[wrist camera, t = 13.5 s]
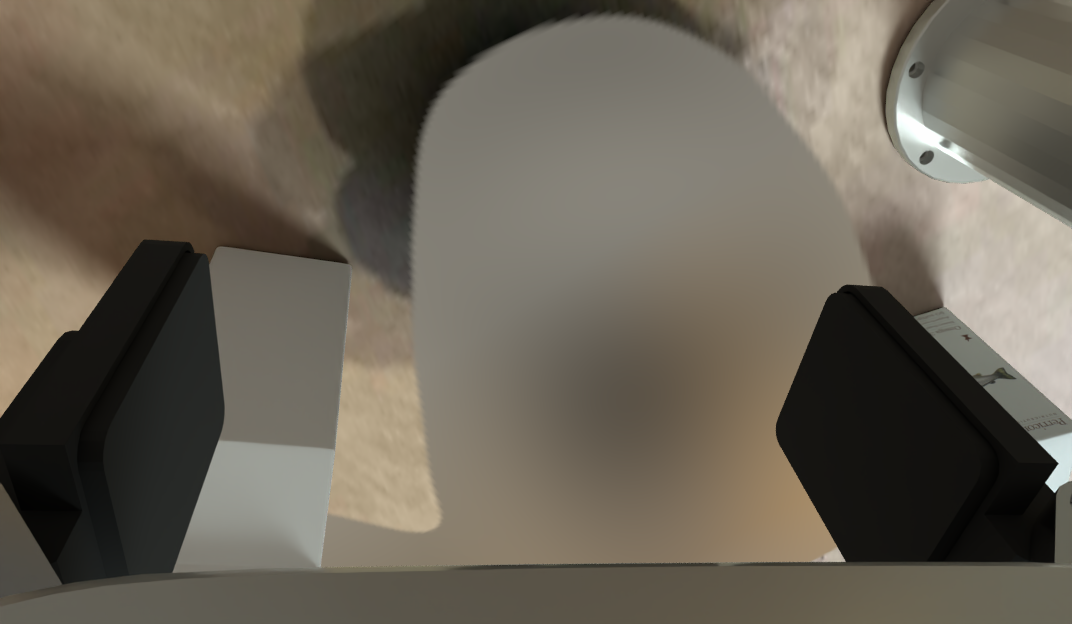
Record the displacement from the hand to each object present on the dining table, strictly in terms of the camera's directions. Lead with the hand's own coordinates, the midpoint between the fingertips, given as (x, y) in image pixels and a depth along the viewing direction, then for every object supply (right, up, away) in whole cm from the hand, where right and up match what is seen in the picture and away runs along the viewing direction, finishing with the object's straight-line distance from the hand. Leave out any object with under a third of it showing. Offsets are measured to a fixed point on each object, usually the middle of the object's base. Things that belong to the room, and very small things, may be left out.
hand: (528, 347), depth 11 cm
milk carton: (-14, +1, +31) cm, 34 cm away
